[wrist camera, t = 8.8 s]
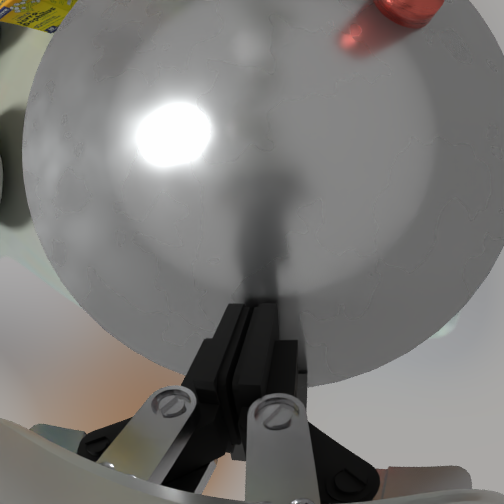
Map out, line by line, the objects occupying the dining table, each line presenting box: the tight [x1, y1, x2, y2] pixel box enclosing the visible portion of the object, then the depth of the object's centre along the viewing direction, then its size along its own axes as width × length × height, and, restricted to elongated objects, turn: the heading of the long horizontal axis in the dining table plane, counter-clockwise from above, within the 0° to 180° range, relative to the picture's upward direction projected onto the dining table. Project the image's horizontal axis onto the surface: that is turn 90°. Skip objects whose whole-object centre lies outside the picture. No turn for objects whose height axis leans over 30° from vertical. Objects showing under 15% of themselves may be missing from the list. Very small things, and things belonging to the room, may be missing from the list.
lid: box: [22, 0, 504, 461], centre depth 9 cm, size 29×23×3 cm
